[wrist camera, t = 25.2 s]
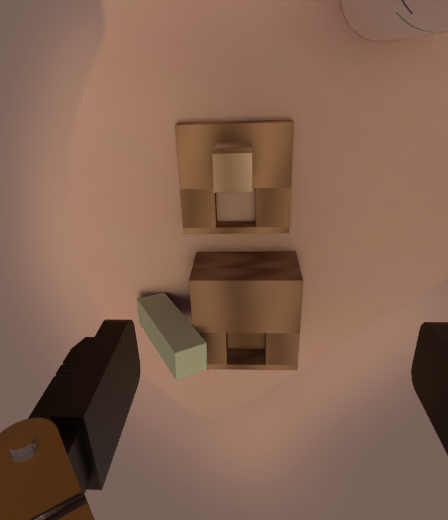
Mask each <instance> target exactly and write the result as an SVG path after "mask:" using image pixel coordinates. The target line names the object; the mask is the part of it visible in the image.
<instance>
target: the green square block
mask: <svg viewBox="0 0 448 520" xmlns="http://www.w3.org/2000/svg"><path fill="white" fill-rule="evenodd" d="M137 304H138V315H139V323H140V325H141V326H142V328H143V329H144V331H145V332H146V334H147V336H148V337H149V339H150V340H151V342H152V343H153V345H154V346H155V348H156V349H157V351H158V353H159V354H160V356H161V357H162V359H163V360H164V362H165V363H166V365H167V367H168V368H169V370H170V371H171V373H172V374H173V376H174V377H175V379H176V380H179V379H182V378H184V377H187V376H190V375H192V374H195V373H198V372H201V371H203V370H206V369H207V345H206V342H205V340H204V339H203V338H202V337H201V336H200V334H199V333H198V332H197V331H196V330H195V328H194V327H193V326H192V325H191V324H190V323H189V321H188V320H187V319H186V318H185V317H184V315H183V314H182V313H181V312H180V311H179V309H178V308H177V307H176V306H175V305H174V303H173V302H172V301H171V300H170V299H169V297H168V296H167V295H166V294H165V293H164V292H162V293H158V294H154V295H150V296H146V297H143V298H139V299H137Z"/></svg>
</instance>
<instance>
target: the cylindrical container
mask: <svg viewBox="0 0 448 520" xmlns="http://www.w3.org/2000/svg"><path fill="white" fill-rule="evenodd" d="M341 5H342V9H343V13H344V16H345V18H346V20H347V22H348V24H349V25H350V26H351V28H352V29H353V30H354V31H355V32H356V33H358V34H359V35H361V36H362V37H364V38H366V39H369V40H373V41H389V40H396V39H402V38H409V37H415V36H422V35H429V34H435V33H442V32H448V0H341Z"/></svg>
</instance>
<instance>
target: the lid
mask: <svg viewBox="0 0 448 520" xmlns="http://www.w3.org/2000/svg"><path fill="white" fill-rule="evenodd" d="M293 124H294V122H293V121H292V120H266V121H227V122H188V123H177V124H176V125H175V128H176V141H177V154H178V166H179V179H180V191H181V204H182V216H183V229H184V234H234V233H289V220H290V196H291V172H292V148H293ZM252 188H256V222H217V211H216V193H229V192H252Z"/></svg>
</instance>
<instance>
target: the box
mask: <svg viewBox="0 0 448 520" xmlns="http://www.w3.org/2000/svg"><path fill="white" fill-rule="evenodd" d="M302 286H303V279H302V275H301V271H300V267H299V263H298V259H297V255H296V252H197V253H196V257H195V260H194V264H193V268H192V271H191V275H190V279H189V288H190V301H191V313H192V326H193V327H194V328H195V330H196V331H197V332H198V333H199V334H200V336H201V337H202V338H203V339H204V340H205V342H206V345H207V369H244V370H297V368H298V351H299V335H300V318H301V302H302Z"/></svg>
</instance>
